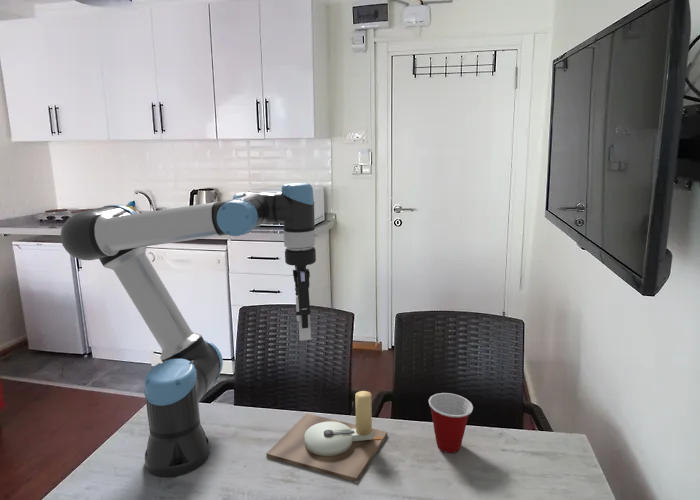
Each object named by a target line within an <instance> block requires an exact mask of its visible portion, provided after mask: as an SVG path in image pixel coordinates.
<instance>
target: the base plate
mask: <svg viewBox="0 0 700 500" xmlns="http://www.w3.org/2000/svg"><path fill="white" fill-rule="evenodd" d="M321 422H339V423H342V424H345V425H347V426H348V427H349V428H350V429H356V423H351V422H345V421H341V420H336V419H333V418H328V417H323V416H319V415H315V414H311V413H305V414H304V415H303V416H302V417H301V418H300V419H299V420H298V421H297V422H296V423H295V424H294V425H293V426H292V427H291V428H290V429H289V430H288V431H287V432H286V433H285V434H284V435H283V436H282V437H281V438H280V439H279V440H278V441H277V442H276V443H275V444H274V445H273V446H272V447H271V448H270V449H269V450H268V451H267V452H266V453H265V455H266V458H269V459H272V460H276V461H279V462H282V463H283V462H284V463H287V464H289V465H290V464H291V465H293V466H294V465H295V466H297V467H301V468H304V469H307V470H311V471H315V472H319V473H321V474H325V475H326V474H327V475H329V476H334V477H336V478H340V479H343V480H347V481H351V482H354V483H358V481H359V479H360V478H361V476H362V475H363V473H364V472H365V470H366V469H367V467H368V465H370V462H371V461H372V459H373V458H374V457H375V455H376V453H377V452H378V450H379V449H380V447H381V446H382V444H383V443H384V441H385V440H386V438H388V437H387V436H388V431H385V430H381V429H377V428H372V433H373V439H371V440H361V441H353V442H352V445H351V447H350V448H349V449H348V450H347V451H345V452H344V453H341V454H338V455H334V456H320V455H316V454H313V453H311V452H310V451H309V450H308V449H307V448H306V446H305V432H306V431H307V429H308V428H310V427H311V426H313V425H315V424H318V423H321Z"/></svg>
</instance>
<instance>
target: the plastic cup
mask: <svg viewBox="0 0 700 500" xmlns="http://www.w3.org/2000/svg"><path fill="white" fill-rule="evenodd" d="M428 404H429V405H428V406H429V407H430V410H431V411H430V412H431V416H432V417H431V418H432V425H433V431H434V435H435V442H436V445H437V448H438V449H439V450H440V451H442V452H445V453H449V454H453V453H457V452H458V451H459V450H461V447H462V444H463V443H462V442H463V438H464V435H465V433H466V432H465V430H466V426H467V423H468V419H469V417H470V415H471V414H472V412H473V409H474V406H473V404H472V402H471V401H470V400H468V399H467V398H465V397H464V396H462V395H459V394H456V393H451V392H450V393H449V392H441V393H435V394H433V395H431V396H430V397H429V398H428Z"/></svg>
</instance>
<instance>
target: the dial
mask: <svg viewBox="0 0 700 500" xmlns="http://www.w3.org/2000/svg"><path fill="white" fill-rule="evenodd" d="M354 395H355V397H354V399H355V400H354V401H355V404H354V405H355V425H356V429H350V428H349V427H348V426H347V425H345V424H342V423H339V422H321V423H318V424H315V425H313V426H311V427H310V428H308V429H307V431H306V432H305V446H306V448H307V449H308V450H309V451H310V452H311V453H313V454H316V455H320V456H334V455H338V454H341V453H344V452H345V451H347V450H348V449H349V448H350V447H351V445H352V442H353V441H361V440H371V439H373V433H372V429H373V424H372V423H373V420H372V418H373V417H372V415H373V413H372V409H373V407H372V393H371V392H370V391H367V390H361V391H358V392H356V393H355V394H354Z"/></svg>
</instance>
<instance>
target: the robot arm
mask: <svg viewBox="0 0 700 500" xmlns="http://www.w3.org/2000/svg"><path fill="white" fill-rule="evenodd" d="M264 224H282V225H283V244H284V245H283V246H284V247H285V249H284V260H285V261H284V262H285V264H286V265H288V266H294V269H292V276H293V281H294V284H295V285H294V287H295V288H294V291H295V315H296V322H298V330H299V331H298V334H299V335H298V336H299V341H312V331H311V312H312V310H311V306H310V304H311V303H310V302H311V301H310V278H311V277H310V276H311V274H310V268H307V266H309V265H313V264H315V263H316V261H317V254H316V248H315V246H316V237H318V233H317V232H316V231H315V229H316V227H315V201H314V189H313V186H312V185H311V184H310V183H305V182H295V183H285V184H282V185H281V190H280V191H278V192H251V191H247V192H237V193H236V194H234V195H233V197H232V198H231V199H227V200H219V201H216V202H214V201H213V202H207V203H200V204H195V205H186V206H180V207H174V208H167V209H160V210H153V211H146V212H139V213H137V212H136V211H135V210H133V209H132V208H130V207H128V206H125V205H122V204H114V205H113V204H112V205H110V204H109V205H104V206H102V207H97V208H93V209H88V210H84V211H79V212H76V213H75V214H73V215H72V216H70V217H69V218H68V219H66V221H65V222H64V224H63V226H62V227H61V230H60V231H61V232H60V241H61V244H62V246H63V248H64V249H65V251H66V252H67V253H68V254H69V255H71V256H72V257H73V258H76V259H78V260H81V261H96V260H99V261H100V263H101V265H102V267H103V268H106V269H110V270H113V272H114V274H115V276H116V277H117V278H118V280H119V282H120V283H121V285H122V287H123V288H124V290H125V291H126V293H127V294H128V296H129V298H130V300H131V301H132V303H133V305H134V306H135V308H136V309H137V310H138V313H139V314H140V316H141V317H142V319H143V321H144V322H145V324H146V326H147V328H148V329H149V331H150V332H151V334H152V336H153V337H154V339H155V340H156V342H157V344H158V346H159V347H160V348H161V354H160V357H159V358H160V360H161V362H162V363H161V362H159V363H157V364H156V365H153V366H152V367H151V368H150V369H149V370H148V371H147V373H146V374H145V377H144V380H143V382H144V387H143V393H144V398H145V405H146V414H147V421H148V427H149V428H148V430H149V435H148V441H147V444H146V446H147V447H146V449H145V452H144V463H145V468H146V470H147V471H148V473H151V475H154V476H157V477H163V478H164V477H165V478H167V477H177V476H182V475H186V474H189V473H191V472H193V471H195V470H197V469H198V468H199V467H201V466H203V464H205V463H206V462H207V461H208V460H209V457H210V455H211V445H210V444H211V443H210V440H209V437H207V434H206V432H205V430H204V428H203V426H202V424H201V417H200V404H199V403H200V401H201V400H202V398H203V397H204V396H205V395H206V394H207V392H208V391H209V389H210V388H211V387H212V386H213V385H214V384H215V383H216V382H217V381H218V378H219V377H220V375H221V372H222V370H223V366H224V365H223V364H224V363H223V362H224V359H223V355H222V353H221V351H220V349H219V348H218V346H216V345H215V344H214V343H212V342H209V341H207V340H205V339H204V337H203V336H202V334H201V333H198V332H193V331H192V329H191V328H190V326H189V324H188V322H187V321H186V319H185V317H184V316H183V314H182V312H181V311H180V309H179V308H178V306H177V304H176V302H175V301H174V300H173V298H172V295H171V294H170V292H169V291H168V289H167V288H166V286H165V284H164V282H163V281H162V279H161V278H160V275H159V274H158V273H157V270H156V269H155V267H154V265H153V264H152V263H151V261H150V259H149V257H148V256H147V254H146V251H147V248H148V247H151V246H152V247H153V246H159V245H165V244H171V243H178V242H179V243H181V242H186V241H195V240H199V239H207V238H215V237H221V236H232V237H239V236H242V235H243V236H244V235H247V234H248V233H250V232H251V231H252V230H255V228H257V227H259V226H260V225H264Z"/></svg>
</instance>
